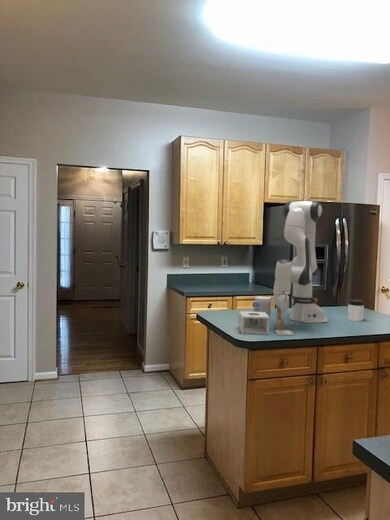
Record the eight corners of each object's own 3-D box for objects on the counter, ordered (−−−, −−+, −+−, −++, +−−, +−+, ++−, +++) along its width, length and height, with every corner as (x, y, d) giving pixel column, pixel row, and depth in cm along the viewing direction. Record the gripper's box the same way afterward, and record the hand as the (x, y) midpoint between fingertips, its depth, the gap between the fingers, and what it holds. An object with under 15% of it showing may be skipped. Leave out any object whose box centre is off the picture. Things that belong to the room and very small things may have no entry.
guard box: (264, 327, 224) (264, 311, 224) (268, 334, 210) (269, 317, 210) (238, 327, 224) (239, 311, 223) (241, 333, 210) (242, 316, 209)
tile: (289, 331, 216) (289, 330, 216) (293, 335, 208) (293, 334, 208) (274, 331, 216) (274, 329, 216) (277, 335, 208) (277, 333, 208)
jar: (345, 318, 256) (346, 299, 255) (358, 318, 256) (359, 299, 256) (351, 321, 247) (352, 301, 246) (365, 321, 247) (366, 301, 247)
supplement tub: (251, 323, 235) (252, 297, 234) (255, 320, 243) (256, 295, 242) (268, 325, 231) (269, 299, 230) (271, 321, 240) (272, 297, 239)
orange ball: (256, 323, 219) (256, 315, 219) (257, 324, 215) (258, 317, 215) (249, 323, 219) (249, 315, 219) (250, 324, 215) (250, 317, 215)
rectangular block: (282, 328, 223) (282, 307, 222) (283, 330, 220) (284, 308, 219) (276, 328, 223) (277, 306, 222) (277, 330, 220) (278, 307, 219)
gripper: (292, 293, 209) (290, 319, 210) (283, 287, 229) (281, 312, 230) (280, 292, 209) (278, 319, 210) (272, 287, 229) (270, 311, 230)
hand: (280, 315), depth 220 cm, fingers open, 8 cm apart
